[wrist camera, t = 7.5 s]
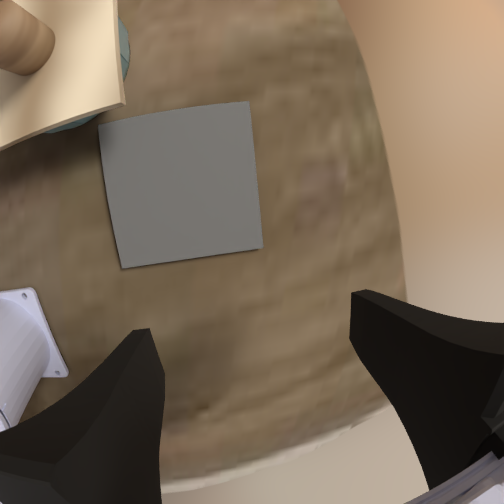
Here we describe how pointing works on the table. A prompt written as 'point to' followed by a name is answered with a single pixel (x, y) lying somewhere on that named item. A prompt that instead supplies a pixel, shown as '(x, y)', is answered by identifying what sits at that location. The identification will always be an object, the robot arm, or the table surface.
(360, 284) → the table surface
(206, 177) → the mat
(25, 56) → the lid
